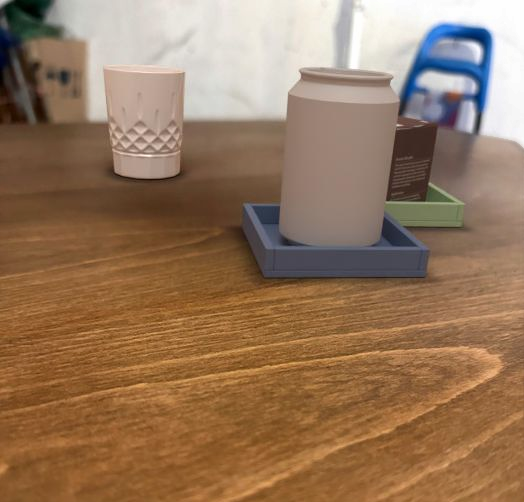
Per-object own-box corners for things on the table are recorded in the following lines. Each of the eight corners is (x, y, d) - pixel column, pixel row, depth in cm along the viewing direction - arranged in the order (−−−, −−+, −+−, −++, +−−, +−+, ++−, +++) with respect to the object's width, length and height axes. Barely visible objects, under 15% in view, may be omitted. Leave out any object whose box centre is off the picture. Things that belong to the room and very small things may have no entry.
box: (376, 192, 65) (386, 113, 62) (426, 206, 61) (441, 122, 58) (333, 199, 61) (342, 116, 58) (384, 215, 57) (397, 126, 54)
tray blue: (375, 229, 55) (378, 205, 54) (425, 277, 46) (430, 249, 45) (241, 227, 53) (242, 203, 53) (264, 277, 44) (265, 248, 43)
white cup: (125, 161, 73) (122, 63, 69) (194, 168, 72) (195, 68, 68) (95, 176, 66) (89, 67, 62) (170, 184, 65) (170, 74, 61)
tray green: (415, 194, 67) (418, 174, 66) (461, 227, 57) (466, 204, 56) (306, 192, 65) (308, 172, 64) (335, 226, 56) (338, 202, 55)
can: (393, 260, 47) (421, 76, 41) (288, 261, 45) (303, 70, 40) (361, 229, 53) (382, 66, 48) (269, 228, 52) (279, 61, 47)
